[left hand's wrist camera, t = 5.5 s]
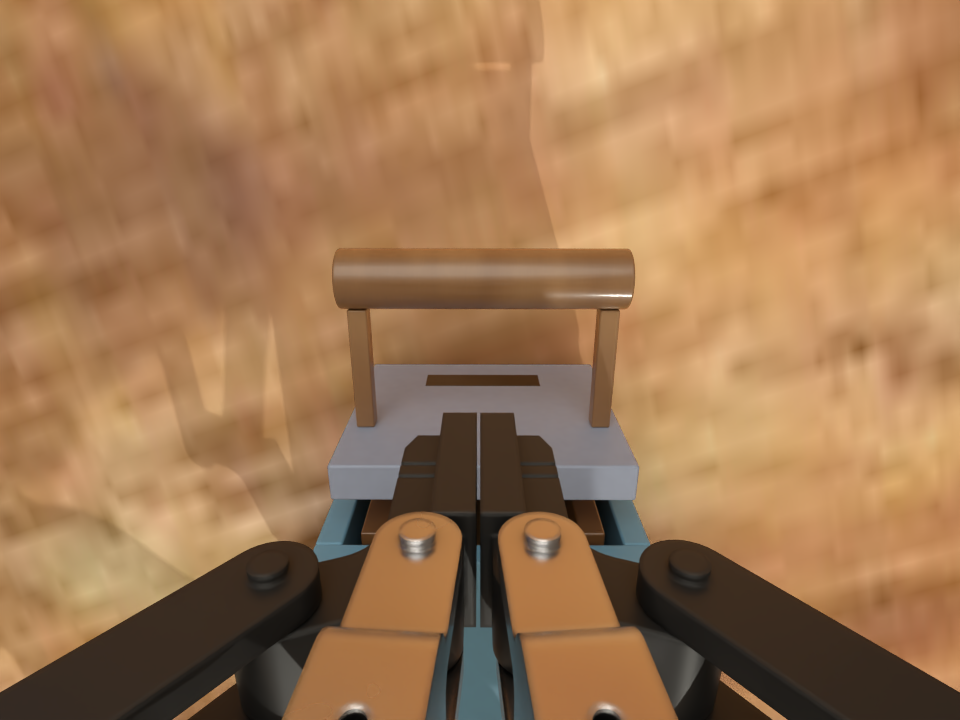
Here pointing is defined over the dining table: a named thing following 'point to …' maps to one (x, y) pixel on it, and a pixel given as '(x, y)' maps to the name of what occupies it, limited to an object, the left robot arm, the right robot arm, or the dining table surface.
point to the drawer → (485, 370)
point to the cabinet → (479, 674)
